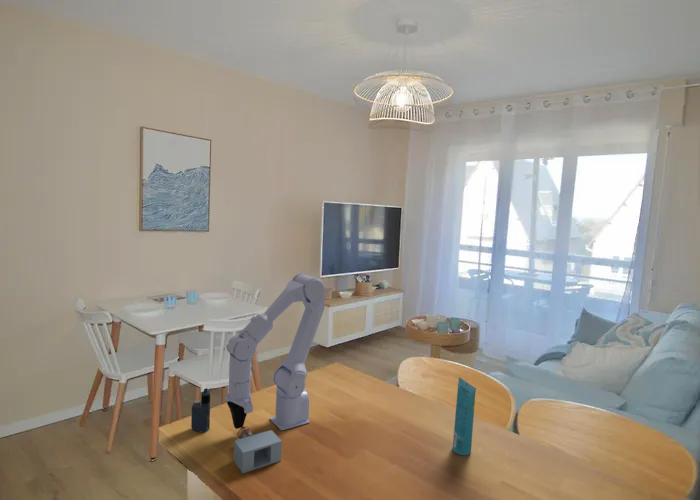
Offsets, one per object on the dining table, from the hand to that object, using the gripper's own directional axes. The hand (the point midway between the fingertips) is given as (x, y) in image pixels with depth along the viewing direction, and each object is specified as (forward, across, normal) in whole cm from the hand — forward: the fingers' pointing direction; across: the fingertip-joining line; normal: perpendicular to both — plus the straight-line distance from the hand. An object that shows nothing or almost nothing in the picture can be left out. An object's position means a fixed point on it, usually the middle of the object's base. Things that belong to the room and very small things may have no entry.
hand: (238, 426), depth 114 cm
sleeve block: (+2, +14, 0) cm, 14 cm away
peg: (+2, +8, 0) cm, 8 cm away
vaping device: (+3, -8, -8) cm, 12 cm away
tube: (+3, +37, +49) cm, 61 cm away
